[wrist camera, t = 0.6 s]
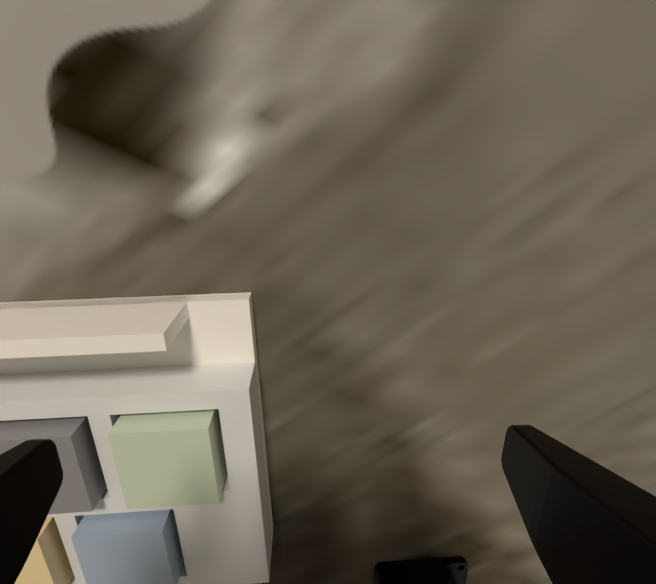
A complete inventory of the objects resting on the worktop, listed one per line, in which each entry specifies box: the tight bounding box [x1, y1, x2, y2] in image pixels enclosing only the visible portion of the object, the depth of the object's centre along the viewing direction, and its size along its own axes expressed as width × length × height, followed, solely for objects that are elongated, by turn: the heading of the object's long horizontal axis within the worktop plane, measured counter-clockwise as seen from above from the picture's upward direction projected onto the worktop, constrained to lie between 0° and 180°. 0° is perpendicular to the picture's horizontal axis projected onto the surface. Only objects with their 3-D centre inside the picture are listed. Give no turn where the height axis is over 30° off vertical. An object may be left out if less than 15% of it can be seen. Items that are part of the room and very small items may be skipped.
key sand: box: [14, 517, 74, 584], centre depth 21 cm, size 4×4×2 cm
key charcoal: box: [0, 416, 107, 514], centre depth 19 cm, size 4×4×2 cm
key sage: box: [108, 409, 226, 509], centre depth 19 cm, size 4×4×2 cm
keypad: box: [0, 292, 273, 584], centre depth 21 cm, size 16×20×4 cm
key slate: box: [71, 509, 184, 584], centre depth 21 cm, size 4×4×2 cm
